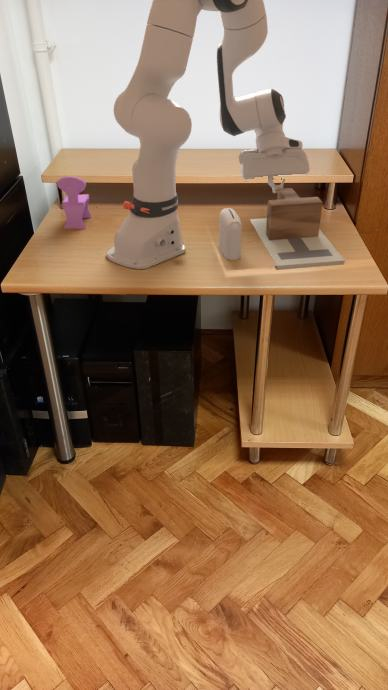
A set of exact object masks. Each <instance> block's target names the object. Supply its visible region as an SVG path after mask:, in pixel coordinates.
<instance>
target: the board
mask: <svg viewBox="0 0 388 690" xmlns="http://www.w3.org/2000/svg"><path fill="white" fill-rule="evenodd" d="M249 221H250V222H251V224H252V226H253V228H254V229H255V231H256V233H257V234H258V237H259V238H260V240H261V241H262V244H263V245H264V246H265V248H266V250H267V251H268V254H269V255H270V257H271V259H272V260H273V262H274V269H275V270H276V271H279V270H280V271H283V270H292V269H305V268H307V269H308V268H316V267H317V268H318V267H319V268H320V267H330V266H340V265H341V266H342V265H345V259H344V258H343V256H342V255H341V254H340V253H339V252H338V250H337V248H335V246H334V245H333V244H332V243H331V242H330V240H329V239H328V238H327V236H326V235H325V234H324V233H323V232H322V230H321V229H320V228H319V235H318V237H307V238H294V239H281V240H269V239H268V237H267V236H266V223H267V217H265V218H250V219H249ZM275 265H276V266H275Z"/></svg>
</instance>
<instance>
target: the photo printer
mask: <svg viewBox="0 0 388 690" xmlns="http://www.w3.org/2000/svg"><path fill="white" fill-rule="evenodd" d="M218 231H219V233H218V234H219V236H218V237H219V238H218V240H219V246H218V247H219V248H220V251H221V253H222V255H223V256H224V258H225V259H226V260H230V261H231V260H232V261H235V260H239V259H241V258H242V257H241V255H242V254H241V253H242V222H241V218H240V217H239V215H238V213H237V212H236V211H235V210H234V209H233V208H231V207H228V208H227V207H226V208H223V209H222V210H221V211H220V213H219V230H218Z"/></svg>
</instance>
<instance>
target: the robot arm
mask: <svg viewBox="0 0 388 690" xmlns="http://www.w3.org/2000/svg"><path fill="white" fill-rule="evenodd" d="M203 10H204V11H209V12H220V17H221V22H222V27H223V38H222V42H220V43H219V45H218V46H217V49H216V67H217V80H218V93H219V102H220V103H219V104H220V106H219V122H220V125H221V128H222V130H223V131H224V132H225V133H226V134H228V135H230V136H233V137H236V136H238V135H239V136H240V135H242V134H244V133H246V132H250V131H254V133H255V136H256V137H255V146H256V148H255V149H249V150H247V149H244V150H242V151H240V153H239V155H238V162H239V164H241V165H240V166H241V167H240V170H241V171H240V173H241V174H242V176H243V178H244V179H246V180H247V179H254V178H255V177H263V176H268V182H267V185H269V186H270V189H271V188H272V193H273V194H278V189H280V188H284V184H285V182H286V180H285V179H283V181H282V183H281V182H280V184H275V183H274V178H273V176H278V175H292V174H307V173H308V174H309V173H310V163H309V160H308V156H307V153H306V151H305V150H304V149H303V146H304V145H303V142H302V140H298V139H293V138H290V137H287V136H286V135H285V132H284V128H283V127H284V122H285V119H286V115H287V114H286V111H285V104H284V103H285V102H284V99H283V98H284V97H283V96H282V94H281V93H280V92H278V91H277V90H275V89H273V88H268V89H264V90H261V91H256V92H254V93H249V94H246V95H243V96H234V85H233V84H234V83H233V74H234V72H235V71H236V70H237V68H238V67H239V66H240V65H242V64H243V63H244V62H245V61H247V60H248V59H250V58H251V57H252V56H254V55H255V54H256V53H257V52H258V51H259V50H260V49H261V48H262V46H263V45H264V43H265V41H266V39H267V36H268V33H269V32H268V27H269V26H268V18H267V13H266V7H265V2H264V0H152V2H151V6H150V9H149V13H148V18H147V21H146V25H145V26H146V27H145V32H144V36H143V41H142V44H141V45H142V46H141V50H140V55H139V58H138V61H137V65H136V67H135V70H134V72H133V75H132V76H131V77H130V81H129V83H128V85H127V86H126V88H125V90H124V91H122V92H120V94H119V95H117V98H116V99H115V101H114V104H113V116H114V118H115V119H114V120H115V121H116V123H117V124H118V125H119V126H120V127H121V128H122V129H123V130H124V131H125V133H128V134H129V135H131V136H133V137H135V138H138V139H139V143H140V147H139V153H138V157H137V159H136V160H135V161H134V162H133V164H132V169H131V171H132V183H133V184H132V185H133V194H132V198H131V201H127V200H124V202H123V204H122V207H123V209H125V210H127V211H128V210H129V213H128V215H127V216H126V217H125V219H124V221H123V222H122V224H121V225H120V226H119V228H118V229H117V231H116V232H115V234H114V244H113V246H112V247H111V248H110V249H108V250H107V251H106V252H105V253H106V254H105V255H106V258H107V259H108V260H109V261H111V262H113V263H115V264H117V265H120V266H122V267H127V268H130V269H139V270H145V269H148V268H150V267H153V266H155V265H158V264H159V263H162V262H164V261H165V262H166V261H167V260H170V259H172V258H175V257H177V256H179V255H182V254H185V253H186V251H187V250H186V246H185V244H184V241H183V236H182V235H183V234H182V228H181V227H182V226H181V221H180V217H179V215H178V214H179V213H178V208H179V199H178V198H179V197H178V193H177V192H176V191H177V190H176V187H177V186H176V184H177V183H176V182H177V181H176V177H177V176H176V175H177V174H176V172H177V171H176V167H177V166H176V165H177V160H178V155H179V153H180V149H181V147H182V146H183V145H184V144H186V142H187V141H188V139H189V137H190V135H191V133H192V119H191V116H190V113H189V112H188V111H187V110H186V109H185V108H184V107H183V106H182V105H180V104H179V103H178V102H176V101H175V100H173V99H169V98H168V97H169V95H170V92H171V91H172V88H173V87H174V85H175V84H176V82H177V81H178V80H180V79H181V78H182V77H183V76H184V75H185V72H186V70H187V67H188V62H189V57H190V53H191V50H192V49H191V48H192V44H193V41H194V36H195V33H196V32H195V30H196V26H197V19H198V17H199V14H200V13H201V11H203ZM308 174H307V175H308ZM242 176H241V177H242ZM281 180H282V178H281Z"/></svg>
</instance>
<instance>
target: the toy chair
mask: <svg viewBox="0 0 388 690" xmlns="http://www.w3.org/2000/svg"><path fill="white" fill-rule="evenodd" d="M56 184H57V187H58V188H59V190H61V191H63V192H64V193H66V196H65V198H64V199H63V201H62V202H61V203H62V209H63V211H64V214H65V217H66V220H65V225H64V229H77V230H78V229H79V230H80V229H82V230H84V229H85V230H86V225H85V224H84V220H83V219H92V215H91V213H90V209H89V202H90V194H88V193H87V194H86V193H85V194H84V193H83V194H80V193H82V192H83V191H84V190H85V189H86V187H87V183H86V181H85V180H84V179H82V178H81V177H77V176H72V175H71V176H69V175H67V176H62V177H60V178H59V179H57V180H56Z"/></svg>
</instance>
